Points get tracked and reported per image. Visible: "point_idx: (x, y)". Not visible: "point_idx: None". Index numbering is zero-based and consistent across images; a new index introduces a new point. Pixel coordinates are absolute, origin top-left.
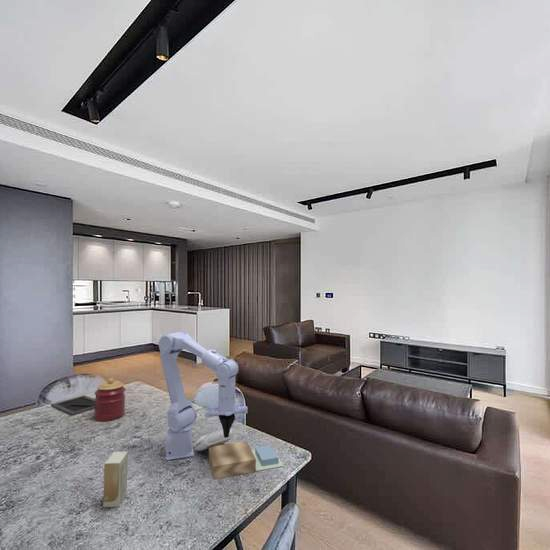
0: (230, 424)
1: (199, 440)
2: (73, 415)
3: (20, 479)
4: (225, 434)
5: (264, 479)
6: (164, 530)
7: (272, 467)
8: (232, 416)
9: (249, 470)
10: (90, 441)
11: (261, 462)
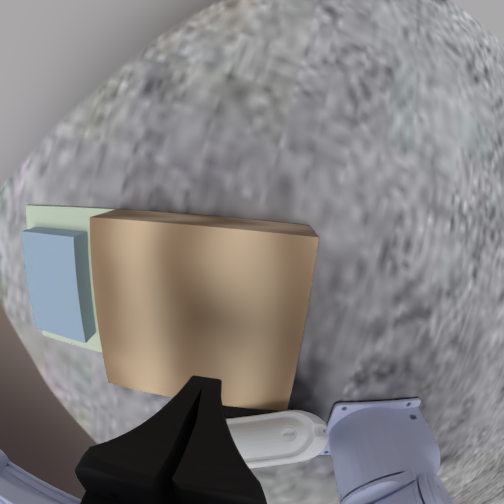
0: (148, 434)
1: (325, 442)
2: None
3: None
4: (212, 390)
5: (103, 143)
6: (478, 55)
7: (57, 207)
8: (103, 490)
9: (138, 211)
10: (485, 468)
11: (80, 240)
